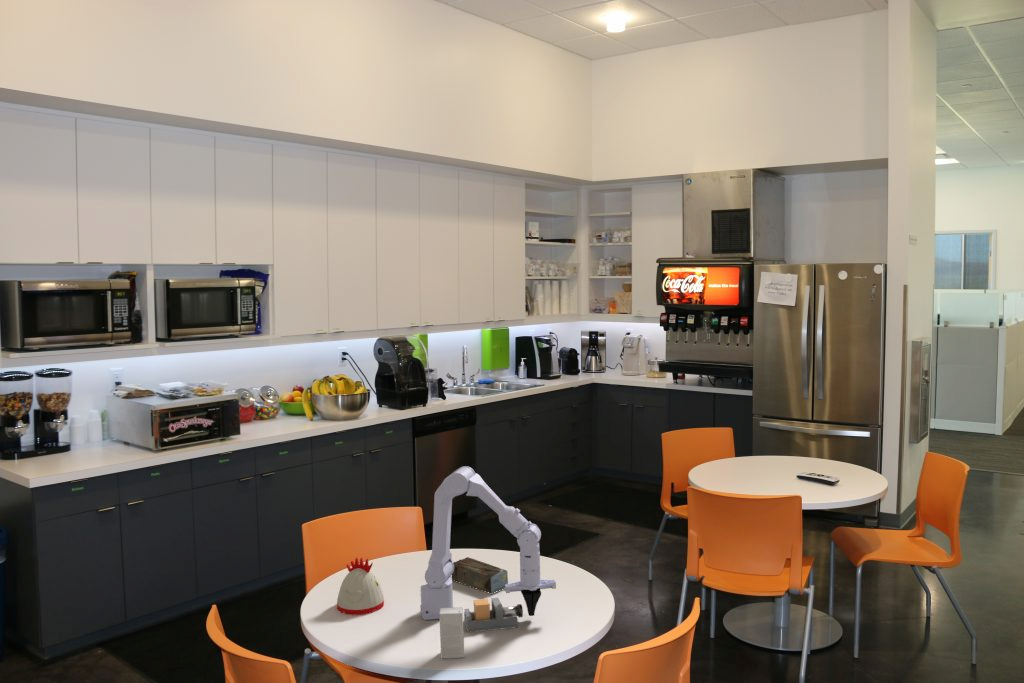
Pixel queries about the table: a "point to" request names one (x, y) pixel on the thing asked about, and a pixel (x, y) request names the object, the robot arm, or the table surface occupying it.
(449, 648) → the skincare box
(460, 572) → the beverage carton
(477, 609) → the block
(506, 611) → the shaft
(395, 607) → the table surface
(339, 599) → the chicken head dome
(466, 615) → the housing
